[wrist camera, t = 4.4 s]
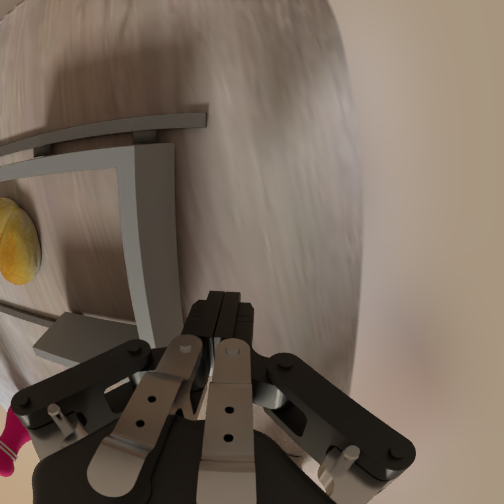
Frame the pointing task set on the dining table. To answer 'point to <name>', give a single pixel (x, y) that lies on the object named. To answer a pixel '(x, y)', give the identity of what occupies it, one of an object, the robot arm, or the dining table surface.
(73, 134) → the track
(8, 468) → the pepper mill
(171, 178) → the frame
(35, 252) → the bread roll
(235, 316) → the robot arm
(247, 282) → the dining table surface
